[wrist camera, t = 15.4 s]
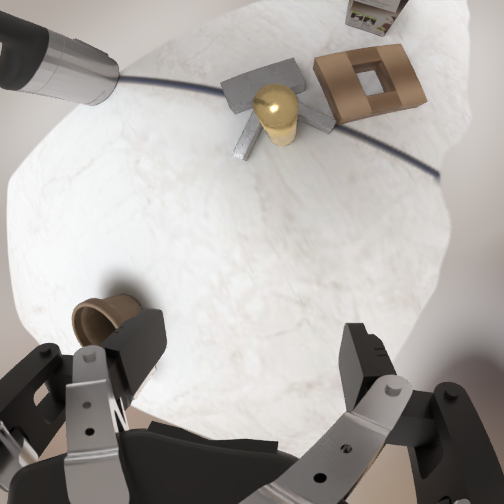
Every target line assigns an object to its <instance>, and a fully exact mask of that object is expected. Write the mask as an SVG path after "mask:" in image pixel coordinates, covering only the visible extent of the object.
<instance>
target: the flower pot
mask: <svg viewBox="0 0 504 504" xmlns="http://www.w3.org/2000/svg"><path fill="white" fill-rule="evenodd" d="M141 311H142V309H141V307H140V305H139V303H138V302H137V301H136V300H135V299H134V298H132V297H130V296H128V295H117V296H113V297H109V298H106V299H102V300H101V299H97V298H91V299H88V300H86V301H84V302H82V303H80V304H78V305H77V306H76V307H75V309H74V311H73V314H72V326H73V330H74V333H75V336H76V338H77V340H78V342H79V343H80V345H81V346H82V348H83V347H85V346H91V345H95V346H99V345H101V344H102V343H103V342H104V341H105V340H106V339H107V338H108V337H109V336H110V335H111V334H112V333H113V332H114V331H115V330H116V329H117V328H119V326H120V325H121V324H123V323H124V322H125V321H126V320H128V319H130V318H132V317H134V316H135V317H136V316H137V315H138V314H139V313H140V312H141Z"/></svg>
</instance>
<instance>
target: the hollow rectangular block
mask: <svg viewBox="0 0 504 504" xmlns="http://www.w3.org/2000/svg"><path fill="white" fill-rule="evenodd" d="M313 70H314V72H315V74H316V76H317V78H318V81H319V83H320V85H321V87H322V90H323V92H324V94H325V96H326V99H327V101H328V104H329V106H330V108H331V111H332V113H333V116H334V118H335V120H336V124H337V125H340V124H344V123H348V122H352V121H356V120H360V119H364V118H368V117H372V116H376V115H381V114H385V113H390V112H395V111H399V110H404V109H410V108H415V107H418V106H420V105H422V104H424V103H426V102H428V101H427V99H426V96H425V94H424V92H423V89H422V87H421V85H420V82H419V80H418V78H417V76H416V73H415V71H414V69H413V67H412V65H411V63H410V61H409V59H408V57H407V55H406V53H405V51H404V49H403V47H402V45H401V44H393V45H384V46H376V47H368V48H362V49H356V50H350V51H345V52H339V53H334V54H330V55H325V56H321V57H316V58H315V61H314V66H313ZM370 70H375V72H376V74H377V76H378V78H379V80H380V83H381V85H382V87H383V90H384V92H385V93H380V94H375V95H370V96H366V95H365V93H364V91H363V88H362V86H361V84H360V82H359V79H358V77H357V75H356V73H360V72H365V71H370Z"/></svg>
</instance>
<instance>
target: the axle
mask: <svg viewBox="0 0 504 504" xmlns="http://www.w3.org/2000/svg"><path fill="white" fill-rule="evenodd" d="M253 109H254V112H255V114H256V116H257V117H258V119H259V121H260V122H261V124H262V126H263V128H264V129H265V131H266V133H267V134H268V136H269V138H270V140H271V141H272V142H273V143H274V144H275V145H278V146H287V145H289V144H291V143H292V142H293V141H294V139H295V135H296V126H297V116H298V99H297V96H296V94H295V93H294V92H293V91H292V90H291V89H290V88H289V87H287V86H285V85H282V84H269V85H266V86H264V87H262V88H261V89H260V90H259V91H258V92H257V93H256V95H255V96H254V99H253Z"/></svg>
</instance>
